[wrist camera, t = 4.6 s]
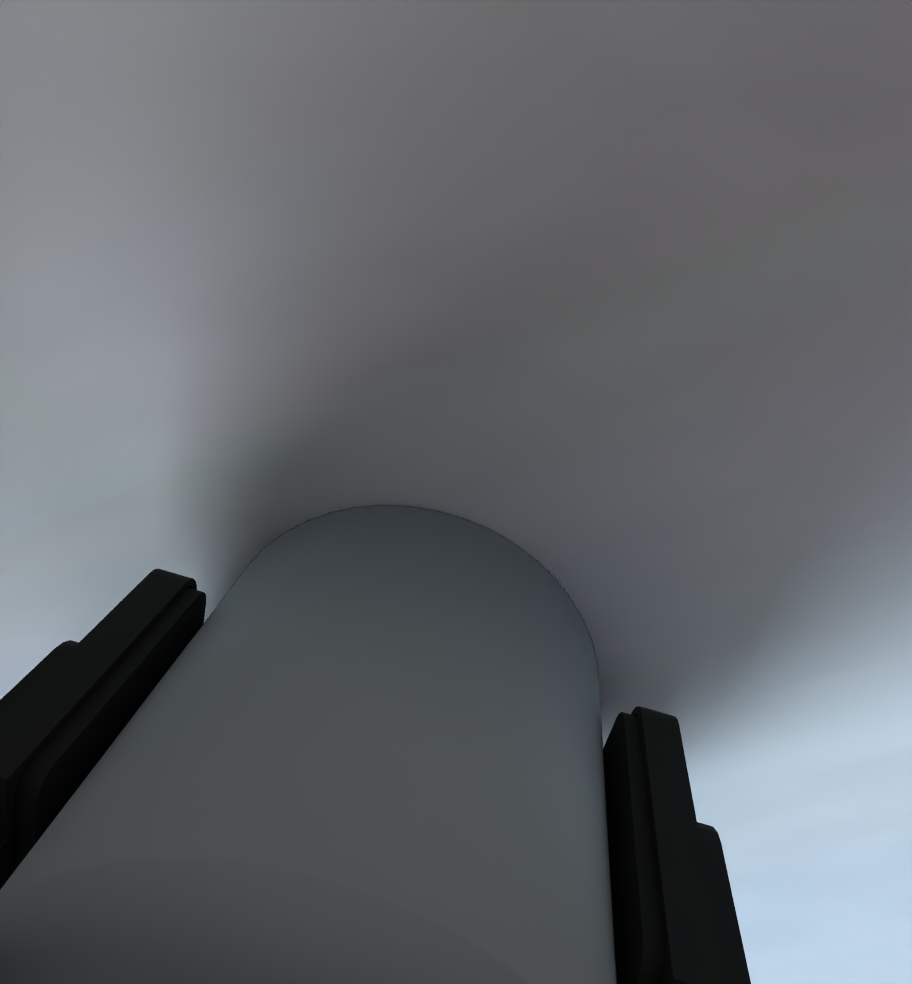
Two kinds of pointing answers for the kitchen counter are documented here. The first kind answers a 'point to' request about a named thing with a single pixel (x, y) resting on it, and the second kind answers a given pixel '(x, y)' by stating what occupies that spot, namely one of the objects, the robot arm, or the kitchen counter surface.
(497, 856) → the cylinder
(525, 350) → the kitchen counter surface
